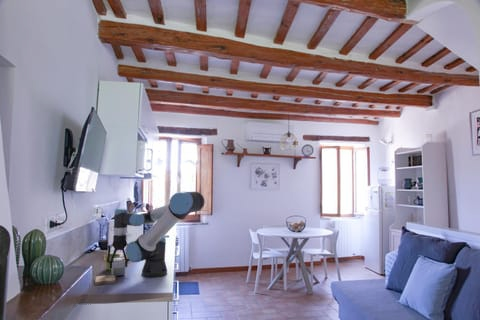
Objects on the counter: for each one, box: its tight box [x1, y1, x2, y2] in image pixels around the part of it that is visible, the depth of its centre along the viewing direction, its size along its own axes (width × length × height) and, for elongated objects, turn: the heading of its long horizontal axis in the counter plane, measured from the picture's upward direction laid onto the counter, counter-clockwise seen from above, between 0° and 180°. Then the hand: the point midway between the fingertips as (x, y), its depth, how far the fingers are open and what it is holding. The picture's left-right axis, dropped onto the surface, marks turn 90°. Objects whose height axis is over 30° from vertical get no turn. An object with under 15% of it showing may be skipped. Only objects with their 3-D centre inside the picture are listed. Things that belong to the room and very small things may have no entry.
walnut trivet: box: [94, 274, 117, 286], centre depth 181 cm, size 11×11×2 cm
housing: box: [112, 256, 125, 277], centre depth 193 cm, size 6×7×9 cm
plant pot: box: [104, 253, 121, 271], centre depth 205 cm, size 9×9×9 cm
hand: (118, 273), depth 193 cm, fingers closed on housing, 6 cm apart
